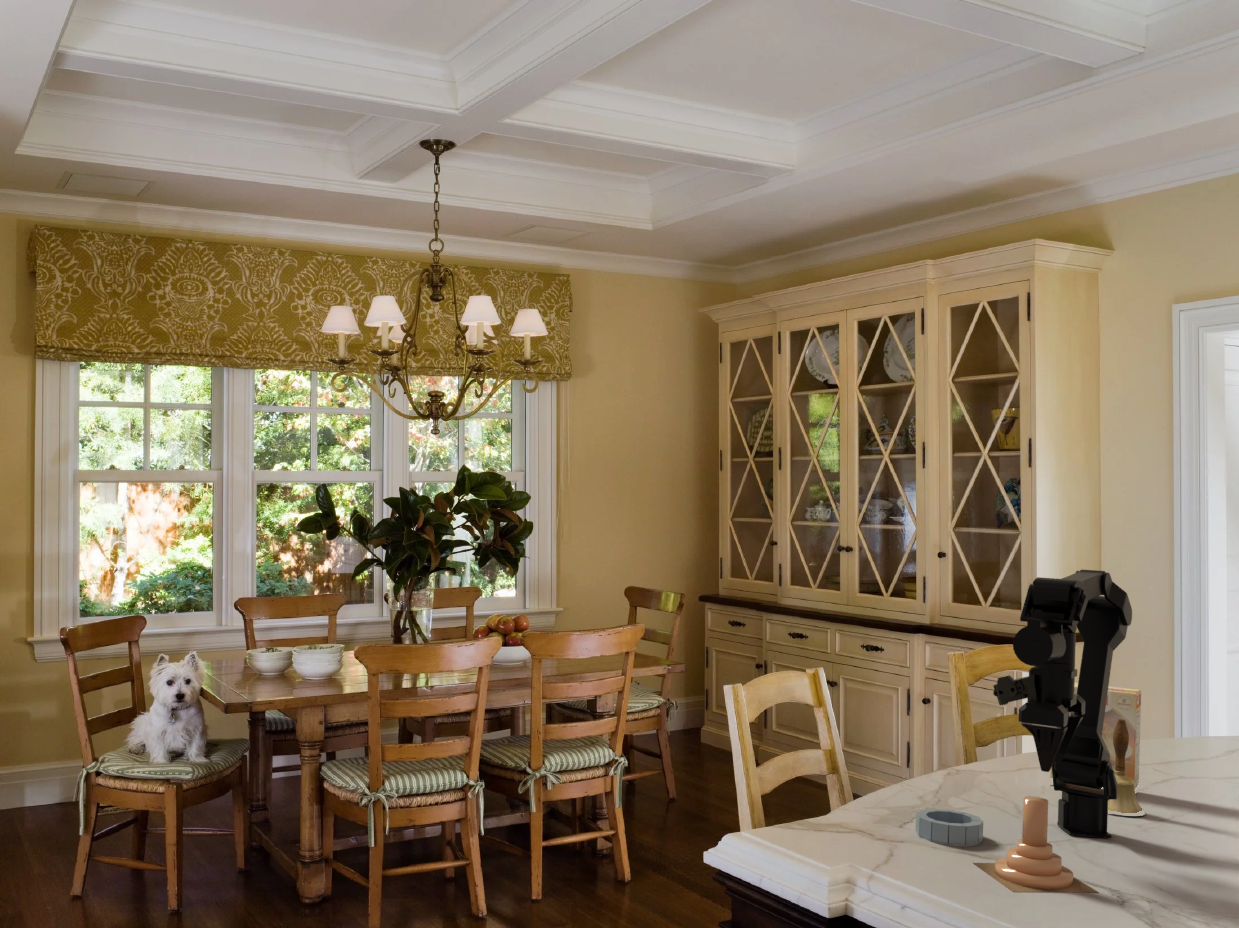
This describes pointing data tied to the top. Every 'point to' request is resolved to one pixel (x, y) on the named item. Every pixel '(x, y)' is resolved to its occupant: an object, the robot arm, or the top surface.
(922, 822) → the blue-grey faceted ring
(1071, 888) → the plate
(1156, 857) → the top surface
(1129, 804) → the hand bell
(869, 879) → the top surface
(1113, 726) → the coffeecake box
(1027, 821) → the lid
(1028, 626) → the robot arm
